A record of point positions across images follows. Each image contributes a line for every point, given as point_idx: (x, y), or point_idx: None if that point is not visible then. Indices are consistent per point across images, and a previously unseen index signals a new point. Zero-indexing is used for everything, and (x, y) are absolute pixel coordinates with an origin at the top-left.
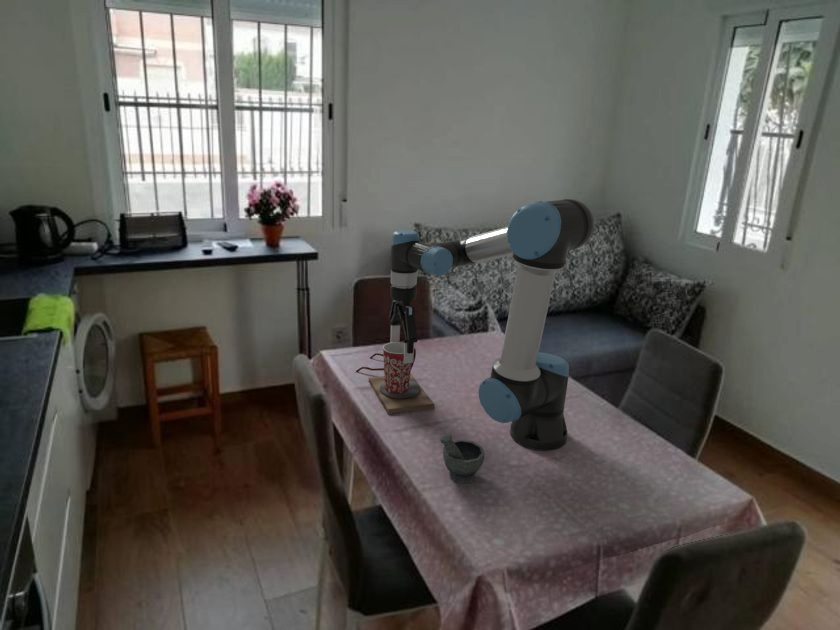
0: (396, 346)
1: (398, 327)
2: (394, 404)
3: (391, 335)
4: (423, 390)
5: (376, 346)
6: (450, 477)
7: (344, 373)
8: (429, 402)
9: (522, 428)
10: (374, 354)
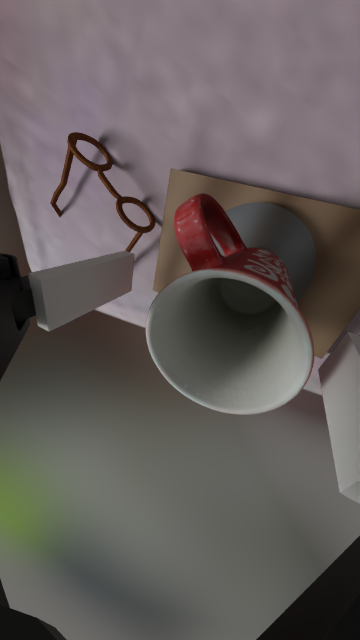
0: (167, 308)
1: (53, 286)
2: (311, 330)
3: (94, 307)
4: (299, 198)
5: (9, 163)
6: None
7: (111, 302)
8: None
9: None
10: (54, 206)
